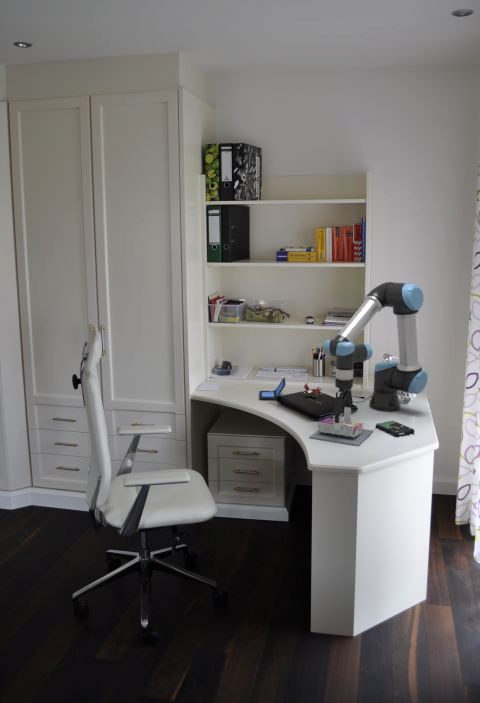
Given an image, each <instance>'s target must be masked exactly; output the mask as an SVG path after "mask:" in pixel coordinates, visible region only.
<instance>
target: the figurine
mask: <svg viewBox="0 0 480 703" xmlns="http://www.w3.org/2000/svg"><path fill="white" fill-rule="evenodd" d="M308 384H309V382H307V383H305V384H304V385H303V388H304V390H306V391H307V392H308V393H313V394H314V395H318V393H319V392H321V393H323V394H324V391H322V390H323V389H322V388H321V387H320V386H319V387H317V388H314V390H312V389H310V387H309V385H308ZM303 392H304V393H306V392H305V391H303ZM304 393H303V394H304ZM321 393H320V394H321Z"/></svg>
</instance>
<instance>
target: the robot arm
mask: <svg viewBox="0 0 480 703" xmlns="http://www.w3.org/2000/svg"><path fill="white" fill-rule="evenodd" d="M423 303H424V293H423V291H422V289H421V287H420V286H419V285H417V284H412V283H406V282H405V283H403V282H393V281H387V282H383V283H380V284H378V285H377V286H375V287H374V288H373V289H372V290H370V291H369V292H368V294H366V295H365V297H364V299H363V302H362V304H361V305H360V307H359V308H358V309H357V310H356V311H355V312H354V314H353V315H352V316H351V318H350V319H349V320H348V321H347V323H346V324H345V325H344V326H343V327H342V328H341V330H340V331H339V332H338V334H337V335H336V336H335V337H334V339H333V338H331V339H327V340H325V341H324V343H323V348H322V349H323V352H324V354H325V355H326V356H328V357H332V358H336V359H335V369H334V372H335V377H336V378H335V379H334V386H335V387H336V388H337V389H338V391H336V392H335V400H334V404H333V411H332V416H334V418H333V419H334V430H341V420H342V415H341V414H342V411H343V410H342V409H343V406H344V411H343V413H344V414H343V415H344V416H343V421H350V422H351V417H352V414H351V413H352V408H354V401H353V395H352V388H353V387H354V386H353V385H354V380H353V379H354V366H355V365H354V364H356V363H360V362H366V361H368V360H370V359H371V358H372V357H373V348H372V346H371V345H370V344H369V343H354V341H355V340H356V339H357V337H358V336H359V335H360V334H361V332H362V331H363V330H364V329H365V328H366V326H367V325H368V324H369V322H371V320H372V319H373V317H375V315H376V314H377V313H379V312H381V311H382V310H383V309H384V308H386V307H388V308H392V314H393V315H394V316H395V317H396V324H397V325H396V326H397V339H398V354H399V355H398V356H399V357H398V358H399V362H398V361H382V362H378V363H376V364H375V365H374V371H373V373H374V374H373V376H374V377H373V392H372V395H371V396H370V397H371V398H370V400H369V404H368V407H369V408H370V409H372V410H375V411H379V412H395V411H399V410H400V409H401V402H400V399H399V394H398V391H400V392H404V393H409V394H413V395H419V394H420V393H423V391H424V389H425V388H426V386H427V383H428V378H429V377H428V373H427V372H426V371H425V370H423V365H422V363H420V362H419V352H418V335H417V334H418V333H417V319H416V317H417V316H416V315H418V313H419V310H420V309H421V308H422V307H423Z"/></svg>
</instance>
